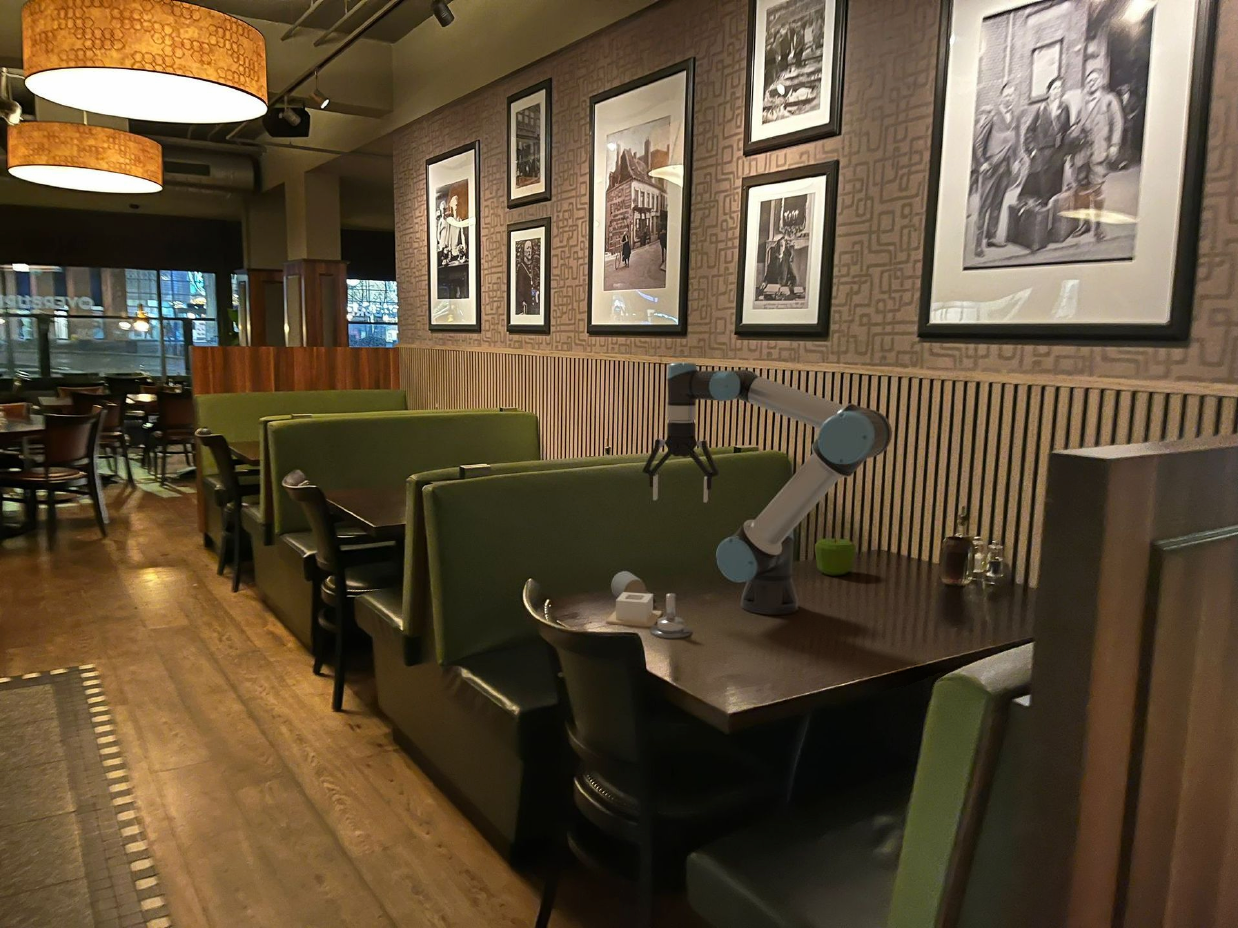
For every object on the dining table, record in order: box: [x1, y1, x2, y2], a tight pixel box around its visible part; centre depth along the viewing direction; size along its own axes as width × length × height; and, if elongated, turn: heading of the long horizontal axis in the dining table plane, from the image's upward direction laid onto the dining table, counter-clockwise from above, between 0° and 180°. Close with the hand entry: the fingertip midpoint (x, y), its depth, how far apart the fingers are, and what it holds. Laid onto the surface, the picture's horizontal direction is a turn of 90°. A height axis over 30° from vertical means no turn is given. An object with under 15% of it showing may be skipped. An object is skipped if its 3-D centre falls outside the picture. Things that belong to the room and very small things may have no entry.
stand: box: [649, 592, 692, 640], centre depth 218 cm, size 10×10×10 cm
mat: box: [605, 609, 663, 628], centre depth 230 cm, size 12×12×1 cm
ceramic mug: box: [610, 570, 652, 598], centre depth 246 cm, size 11×8×8 cm
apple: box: [814, 537, 857, 577], centre depth 277 cm, size 12×12×11 cm
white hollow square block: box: [615, 592, 654, 622], centre depth 229 cm, size 8×8×5 cm
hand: (680, 500), depth 239 cm, fingers open, 13 cm apart
